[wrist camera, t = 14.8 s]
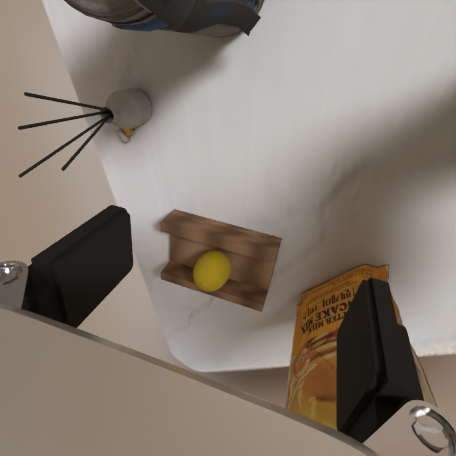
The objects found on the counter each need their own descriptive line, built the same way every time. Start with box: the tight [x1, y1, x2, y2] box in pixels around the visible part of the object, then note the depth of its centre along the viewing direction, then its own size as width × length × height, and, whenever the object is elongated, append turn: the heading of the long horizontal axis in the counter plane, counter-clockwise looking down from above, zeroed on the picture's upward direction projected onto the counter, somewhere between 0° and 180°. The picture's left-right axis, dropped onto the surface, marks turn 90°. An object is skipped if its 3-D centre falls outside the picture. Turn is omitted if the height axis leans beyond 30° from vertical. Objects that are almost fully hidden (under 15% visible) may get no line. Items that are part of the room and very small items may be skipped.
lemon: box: [193, 250, 231, 292], centre depth 46 cm, size 6×6×8 cm
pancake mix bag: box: [285, 264, 437, 431], centre depth 36 cm, size 7×19×28 cm, turn 135°
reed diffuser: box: [18, 89, 152, 177], centre depth 34 cm, size 10×7×20 cm
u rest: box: [161, 209, 282, 312], centre depth 49 cm, size 18×12×5 cm, turn 83°
